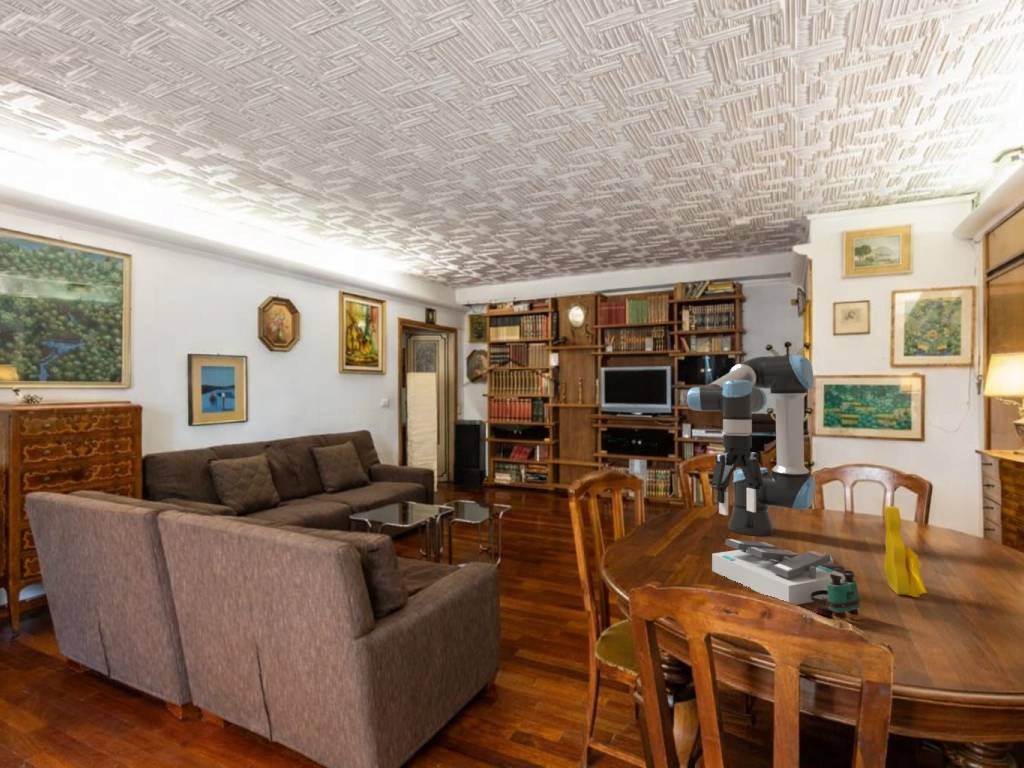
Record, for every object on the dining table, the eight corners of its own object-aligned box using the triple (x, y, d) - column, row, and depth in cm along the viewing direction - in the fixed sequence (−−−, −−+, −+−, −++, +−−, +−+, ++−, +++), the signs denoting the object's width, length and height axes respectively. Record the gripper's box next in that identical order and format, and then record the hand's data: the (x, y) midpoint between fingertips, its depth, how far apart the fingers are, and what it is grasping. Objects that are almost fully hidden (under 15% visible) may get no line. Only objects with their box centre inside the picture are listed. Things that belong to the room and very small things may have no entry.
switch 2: (787, 556, 145) (788, 549, 145) (802, 561, 140) (803, 555, 141) (746, 552, 140) (747, 546, 140) (761, 558, 135) (762, 551, 135)
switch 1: (764, 547, 153) (765, 541, 153) (778, 552, 148) (779, 546, 148) (725, 544, 147) (725, 538, 148) (738, 549, 143) (739, 543, 143)
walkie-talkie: (798, 560, 159) (818, 584, 140) (798, 546, 159) (818, 567, 140) (830, 563, 157) (855, 587, 137) (830, 548, 157) (854, 570, 138)
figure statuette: (936, 608, 123) (935, 516, 124) (897, 603, 126) (896, 514, 126) (907, 582, 140) (906, 501, 140) (873, 578, 143) (872, 499, 143)
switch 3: (813, 555, 138) (812, 549, 138) (830, 561, 133) (829, 554, 133) (771, 572, 133) (770, 565, 132) (788, 578, 128) (787, 571, 128)
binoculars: (823, 563, 127) (864, 572, 118) (828, 607, 126) (870, 619, 117) (798, 568, 123) (839, 577, 114) (802, 613, 122) (844, 627, 113)
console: (764, 562, 156) (764, 536, 156) (846, 594, 132) (846, 564, 132) (712, 570, 149) (712, 544, 149) (788, 606, 125) (788, 574, 125)
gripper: (756, 431, 154) (756, 506, 153) (696, 434, 146) (697, 513, 146) (777, 434, 147) (777, 512, 146) (715, 436, 139) (716, 519, 139)
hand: (737, 512), depth 146 cm, fingers open, 9 cm apart
